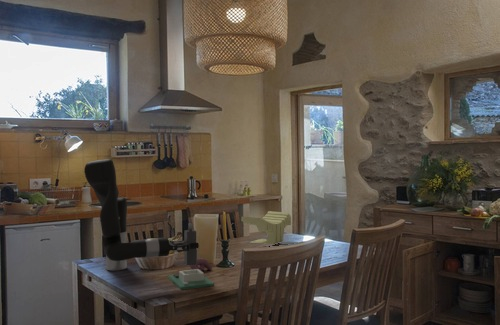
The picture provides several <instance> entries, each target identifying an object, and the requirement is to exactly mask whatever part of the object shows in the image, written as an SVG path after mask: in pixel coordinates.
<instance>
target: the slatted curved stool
mask: <svg viewBox="0 0 500 325" xmlns="http://www.w3.org/2000/svg"><path fill="white" fill-rule="evenodd" d="M241 222H243V223H245V224H249V225H252V226H255V227H256V228H257V230H258V232H261V233H265V234H266V235H267V239H266V238H260V239H259V238H258V239H255V240H252V241H250V242H249V244H250V243H264V244H275V243H278V242H282V241H284V233H285V229H286V228H287V227H288V226H292V216H291V215H290V213H288V212H283V211H274V210H273V211H270V210H268V211H267V213H266V214H265V215H264V216H263V217H262V218H260V217H252V216H250V217H249V216H241ZM282 243H283V242H282Z"/></svg>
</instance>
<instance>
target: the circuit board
mask: <svg viewBox="0 0 500 325" xmlns="http://www.w3.org/2000/svg"><path fill="white" fill-rule="evenodd" d="M204 274H205V273H204V272H203V270H202V271H201V270H199V269H194V270H192V269H186V270H179V271H178V273H173V274H169V275H167V278H168V279H169V280H170V281H171V282H172V283H173V284H174V285H175V286H176V287H177V288H178V289H179V290H180V291H181V290H188V289H196V288H197V289H199V288H207V287H213V286H215V283H214V282H213V281H212V280H210V279H209V278H208V277H206V276H205V275H204Z"/></svg>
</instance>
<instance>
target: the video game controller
mask: <svg viewBox="0 0 500 325" xmlns="http://www.w3.org/2000/svg"><path fill="white" fill-rule="evenodd" d="M189 267H190V269H191V270H194V269H199V270H200V271H202V272H203V271H204V270H205V268H206V269H207V270H208V271H212V265H211V264H210V263H209V262H208V260H207V259H205V258H204V257H203V258H201V257H199V258H198V257H197V264H196V265H189Z"/></svg>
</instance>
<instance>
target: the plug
mask: <svg viewBox="0 0 500 325" xmlns="http://www.w3.org/2000/svg"><path fill="white" fill-rule="evenodd" d="M183 232H184V234H183V235H184V236H183V239H184V240H183V241H184V243H197V230H195V229H193V223H190V222H188V229H187V230H186V229H185V230H184V231H183ZM185 248H187V246H185ZM183 253H184V254H183V255H184V259H183V263H184V265H186V266H190V265H196V264H197V259H198V248H195V249H190V250H189V251H183Z"/></svg>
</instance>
